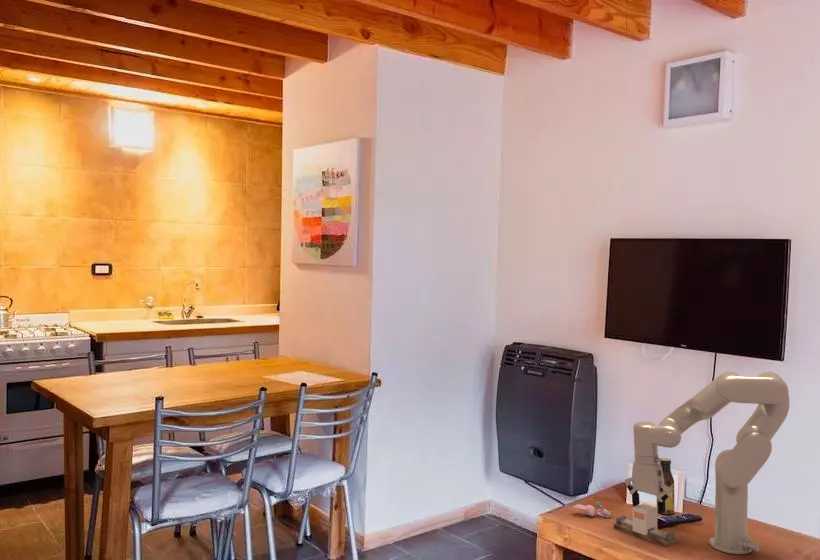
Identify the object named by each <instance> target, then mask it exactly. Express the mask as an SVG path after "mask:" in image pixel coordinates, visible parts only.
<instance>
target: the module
mask: <svg viewBox="0 0 820 560" xmlns="http://www.w3.org/2000/svg"><path fill="white" fill-rule="evenodd" d="M657 510H658V507H657V506H655V505H652V504H650V503H649V504H648V503H645V502H644V503H642V504H641V503H640V504H639V505H637V506H635V507H634V506H632V521H633V531H635V532H637V533H640V534H643V535H648V530H649V529H651V528H655V529H658V511H657Z"/></svg>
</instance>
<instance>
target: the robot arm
mask: <svg viewBox="0 0 820 560" xmlns="http://www.w3.org/2000/svg"><path fill="white" fill-rule="evenodd" d="M730 403H738V404H755V405H756V404H757V407H756V408H755V409H754V411H753V412H752V414H751V416H750V417H749V418H748V420H747V421H746V422H745V423H744V425H743V426H742V427H741V428H740V429H739V431H738V432H737V433H736V438H735V439H736V441H735V442H736V444H735V445H734V446H733V448H732V449H724V450H722V451H721V452H720V453H718V455H717V456H716V459H715V463H714V467H715V468H714V469H715V470H714V471H715V472H714V473H715V475H714V476H715V477H714V478H715V497H714V498H715V499H714V500H715V501H714V502H715V506H714V508H715V509H714V513H715V514H714V520H715V521H714V536H712V537H710V538H709V544H710V546H711V547H712V548H714V549H715V550H718V551H720V552H722V553H723V552H724V553H727V554H730V555H731V554H732V555H747V554H750V553H751V552H752V551H755V552H759V551H760V545H759V542H756V541H753V540H752V539H751V535H749V534H748V501H749V500H748V497H749V494H748V493H749V492H748V488H749V487H748V485H749V483H751V481H752V480H753V479H754V477H755V476H756V475H757V474H758V473H759V471H760V470H761V469H762V468H763V466H764V465H765V464H766V462H767V461H768V460H769V458H770V455H771V453H772V451H773V446H772V439H773V438H774V437H775V435H776V433H778V431H779V430H780V428H781V426H782V425H783V424H784V422H785V420H786V419H787V417H788V414H789V411H790V395H789V387H788V384H787V383H786V382H785V380H784V379H783V378H782V377H781V376H780V375H779V374H778V373H776V372H773V371H764V372H761V373H760V374H759V375H758V376H742V375H740V374H739V373H737V372H735V371H730V370H729V371H724V372H722V373H720V374H719V375H718V376H716V377H715V378H714V379H713V380H712V381H711V382H709V383H708V384H707V385H706V386H705V387H704V388H702V389H701V390H700V391H698V392H697V393H696V394H695V395H693V396H692V397H691V398H689V399H688V400H686V401H685V402H684V403H682V404H681V405H680V406H678V407H676V409H674V410H673V411H672V412H671V413H669V414H668V415H666V417H664V418H663V419H662V420H661V421H660V422H659V423H658V425H656V424H655V423H653V422H650V421H638V422H635V423H634V424H633V445H634V446H633V447H634V450H633V451H634V461H633V463H632V469H631V471H632V472H631V477H628V478H626V479H624V483H625V485H626V488H627V489H628V491H629V494H630V495H631V502H632V507H636V506H638V505H641V503H640V493H639V492H641V493H645V494H649V495H653V496H655V498H656V499H657V498H658V500H659V501H658V511H657V514H659V515H661V513H663V512H665V500H667V498H669V497H670V494H671V492H672V490H671V489H670V488H669V487H668V486H666V485H665V484H664V477H663V471H662V467H661V464H660V462H661V459H660V458H661V457H660V458H659V449H658V447H662V448H676V447H677V446H679V445H680V443H681V441H682V435H683V433H685V432H686V431H687V430H688V429H689V428H691V427H692V426H693V425H695V424H697V423H699V422H701V421H705V420H709V419H711V418H713V417H715V415H717V414H718V413H719V412H720V411H722V410H723V409H724V408H725V407H727V406H728V405H729V404H730ZM664 491H665V492H666V493H665V495H664V493H663V492H664Z"/></svg>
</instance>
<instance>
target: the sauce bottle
mask: <svg viewBox="0 0 820 560" xmlns="http://www.w3.org/2000/svg"><path fill="white" fill-rule="evenodd" d="M660 459H661V462H659V464H661V467H662V471H663V477H664V484H665V485H666V486H668V487H669V488H670V489H671V490H672V492H671V494H670V497H669V498H667V500H665V512H663V513H661V514H662V515H666V514H667V515H668V514H671V515H673V514H674V513H675V479H674V477H673V474H672V470H671V464H672V460H671V458H668V457H667V458H666V457H660ZM663 493H664V495H665V493H666V492H665V491H664V492H663ZM658 501H659V500H658V498H657V497H656V507H658ZM657 512H658V510H657ZM661 514H660V515H661Z"/></svg>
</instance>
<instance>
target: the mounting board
mask: <svg viewBox="0 0 820 560" xmlns="http://www.w3.org/2000/svg"><path fill="white" fill-rule="evenodd" d="M613 529H615V530H618V531H620V532H623V533H625V534H628V535H631V536H634V537H636V538H638V539H642V540H645V541H648V542H649V543H650V542H651V543H653V544H656V545H659V546H662V547H664V548H667V547H669V546H672V545H674V544H676V543H678V537H677V536H675V538H674V539H672V540H670V541H666V540H665V539H662V538H659V537H656V536H653V535H650V534H648V535H643V534H640V533H637V532H635V531H633V528H631V527H628V526H625V525H622V524H618V523H616V522H615V523H614V524H613Z"/></svg>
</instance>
